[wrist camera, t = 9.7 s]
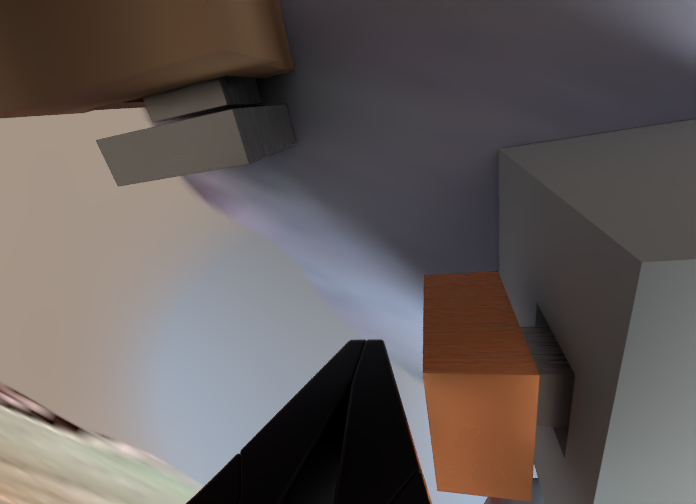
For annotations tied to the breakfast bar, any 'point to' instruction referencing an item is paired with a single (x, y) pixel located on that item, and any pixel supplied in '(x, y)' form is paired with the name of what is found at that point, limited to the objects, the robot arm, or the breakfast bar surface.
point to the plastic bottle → (536, 500)
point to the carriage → (130, 50)
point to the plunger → (488, 386)
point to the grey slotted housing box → (610, 305)
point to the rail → (199, 132)
